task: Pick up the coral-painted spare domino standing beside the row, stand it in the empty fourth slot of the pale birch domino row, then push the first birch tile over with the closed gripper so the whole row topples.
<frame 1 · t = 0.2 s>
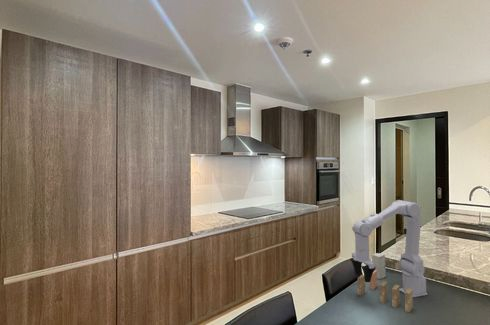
hand: (362, 278, 123), 10 cm above the table, tool pointing down, fingers open, 7 cm apart
domino 2: (396, 305, 118), on the table
spare domino: (373, 287, 134), on the table
domino 5: (361, 293, 128), on the table
domino 1: (409, 309, 114), on the table
skincare box: (378, 277, 146), on the table
domino 3: (383, 301, 121), on the table
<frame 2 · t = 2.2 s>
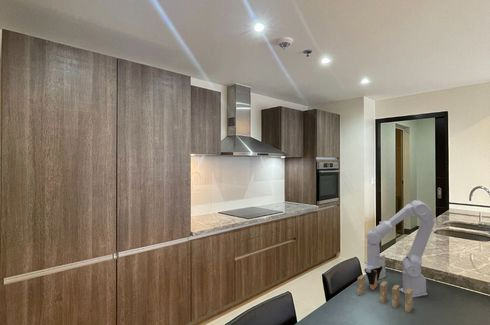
hand: (373, 282, 134), 3 cm above the table, tool pointing down, fingers closed on spare domino, 5 cm apart
spare domino: (373, 287, 134), on the table, touching gripper
everything else where it was.
when the fingers open (3 cm above the table, at t = 6.3 s): spare domino stays where it is, on the table.
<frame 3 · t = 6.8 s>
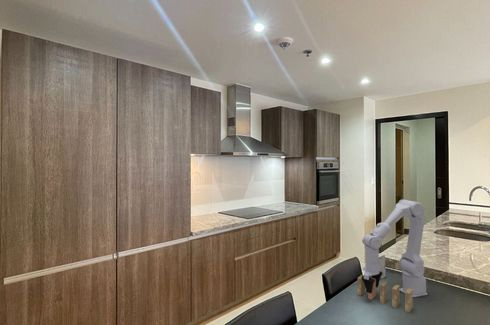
hand: (372, 289, 125), 3 cm above the table, tool pointing down, fingers open, 7 cm apart
spare domino: (372, 297, 125), on the table
everything else where it was.
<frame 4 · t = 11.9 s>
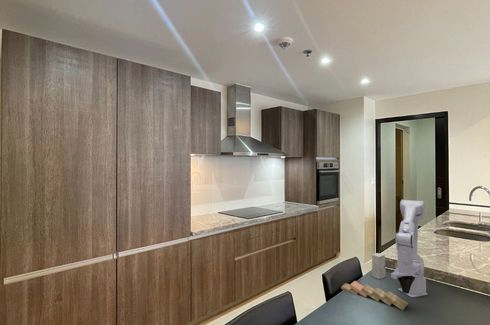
hand: (405, 292, 115), 7 cm above the table, tool pointing down, fingers closed
domino 2: (392, 302, 119), point 1 cm above the table, tilted 71°, touching domino 1, domino 3
spare domino: (368, 294, 126), point 1 cm above the table, tilted 73°
domino 5: (359, 291, 129), on the table, tilted 90°
domino 1: (405, 306, 115), point 1 cm above the table, tilted 71°, touching domino 2
domino 3: (380, 298, 122), point 1 cm above the table, tilted 73°, touching domino 2
everything else where it was.
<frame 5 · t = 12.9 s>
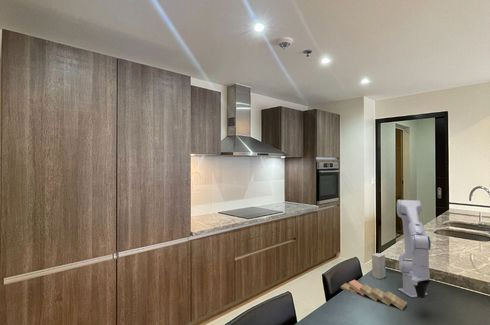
hand: (420, 296, 111), 7 cm above the table, tool pointing down, fingers closed
spare domino: (366, 292, 127), point 1 cm above the table, tilted 73°, touching domino 5
domino 5: (358, 291, 130), on the table, tilted 90°, touching spare domino
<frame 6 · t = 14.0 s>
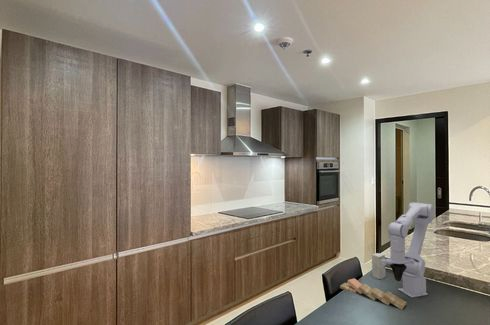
hand: (397, 280, 121), 10 cm above the table, tool pointing down, fingers closed
spare domino: (364, 291, 128), point 1 cm above the table, tilted 72°, touching domino 3, domino 5
domino 3: (377, 297, 123), point 1 cm above the table, tilted 72°, touching domino 2, spare domino
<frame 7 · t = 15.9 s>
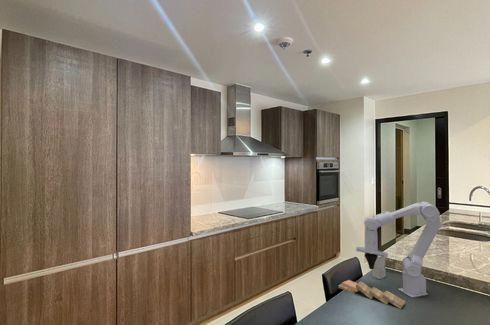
hand: (371, 268, 134), 9 cm above the table, tool pointing down, fingers closed
domino 2: (389, 300, 120), point 1 cm above the table, tilted 73°, touching domino 1
spare domino: (360, 288, 129), point 2 cm above the table, tilted 90°, touching domino 3, domino 5
domino 3: (373, 296, 124), point 1 cm above the table, tilted 64°, touching spare domino
at the end: domino 5 tilted 90°; spare domino tilted 90°; spare domino inside the target area (2.6 cm from its centre), point 2.0 cm above the table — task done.
